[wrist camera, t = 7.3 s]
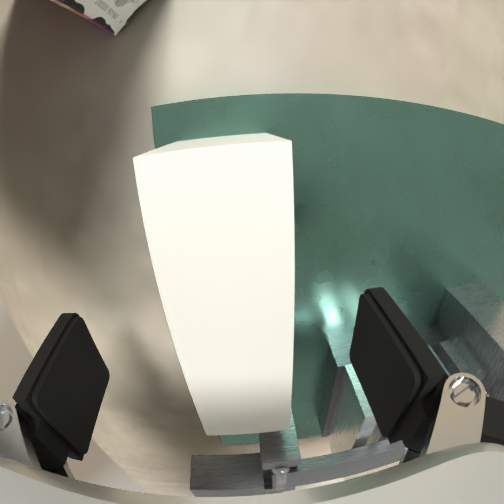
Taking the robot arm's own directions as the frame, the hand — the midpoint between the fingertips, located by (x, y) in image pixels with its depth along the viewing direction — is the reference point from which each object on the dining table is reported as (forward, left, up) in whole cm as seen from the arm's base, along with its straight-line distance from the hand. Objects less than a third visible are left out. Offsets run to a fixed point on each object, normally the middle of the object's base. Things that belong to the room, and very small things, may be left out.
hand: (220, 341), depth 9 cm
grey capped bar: (-11, -8, -1) cm, 14 cm away
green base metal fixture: (-6, -10, -7) cm, 14 cm away
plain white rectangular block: (0, 0, -6) cm, 6 cm away
